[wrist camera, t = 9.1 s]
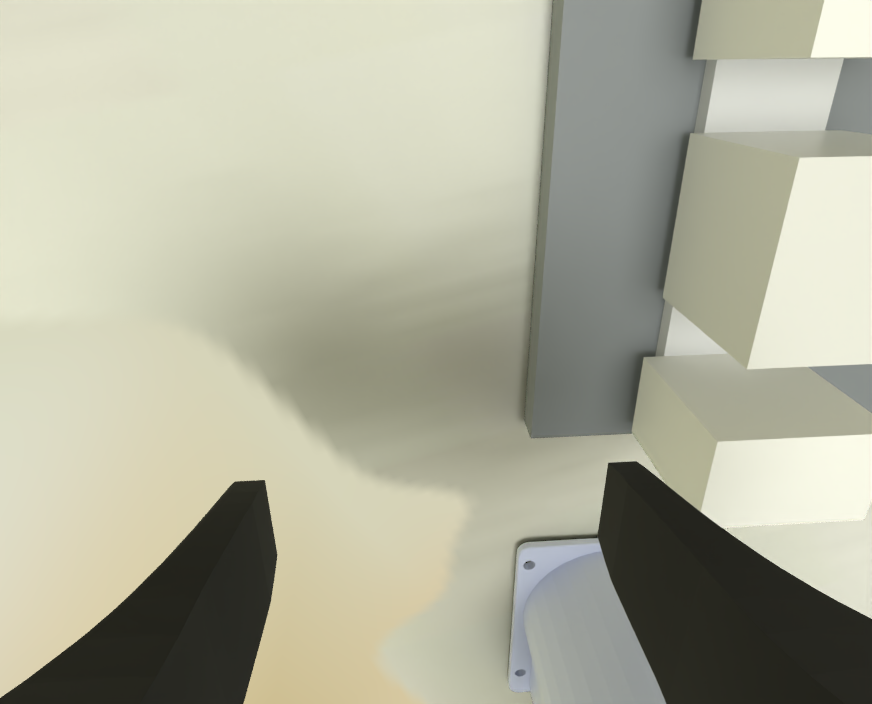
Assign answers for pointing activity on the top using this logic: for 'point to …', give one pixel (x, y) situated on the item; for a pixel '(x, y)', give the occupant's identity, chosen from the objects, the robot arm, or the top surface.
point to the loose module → (777, 246)
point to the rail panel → (652, 238)
